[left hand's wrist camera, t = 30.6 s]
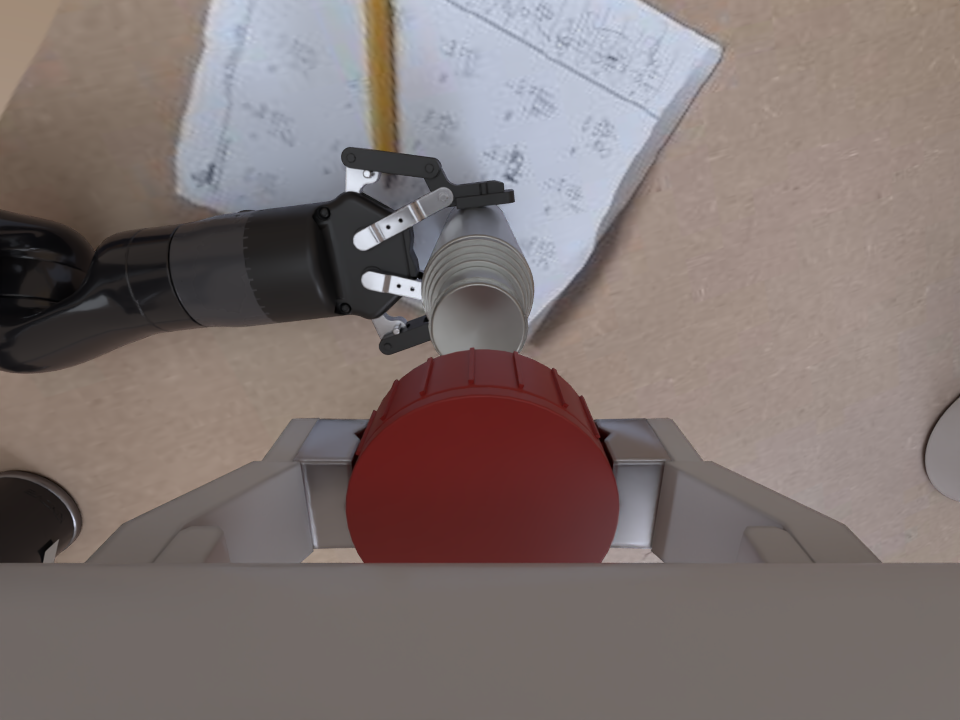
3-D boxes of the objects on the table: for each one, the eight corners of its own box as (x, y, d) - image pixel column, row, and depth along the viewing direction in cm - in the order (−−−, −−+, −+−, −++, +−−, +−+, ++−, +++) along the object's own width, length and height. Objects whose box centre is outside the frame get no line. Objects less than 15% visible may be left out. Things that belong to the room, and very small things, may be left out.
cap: (596, 335, 9) (625, 380, 7) (595, 537, 11) (619, 614, 9) (349, 353, 9) (317, 403, 7) (386, 550, 11) (367, 629, 9)
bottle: (450, 265, 41) (419, 403, 18) (440, 203, 39) (392, 268, 16) (511, 257, 41) (556, 385, 18) (503, 193, 39) (543, 246, 16)
